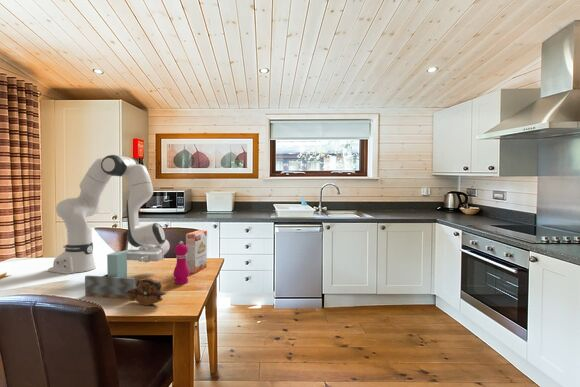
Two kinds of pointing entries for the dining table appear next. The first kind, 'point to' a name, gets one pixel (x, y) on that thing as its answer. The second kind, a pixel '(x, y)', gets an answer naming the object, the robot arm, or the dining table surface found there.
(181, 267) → the pepper mill
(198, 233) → the cracker box
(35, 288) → the dining table surface
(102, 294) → the grey speckled box
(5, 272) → the dining table surface
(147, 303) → the wooden carving
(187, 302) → the dining table surface
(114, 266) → the grey-green rectangular block
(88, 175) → the robot arm
